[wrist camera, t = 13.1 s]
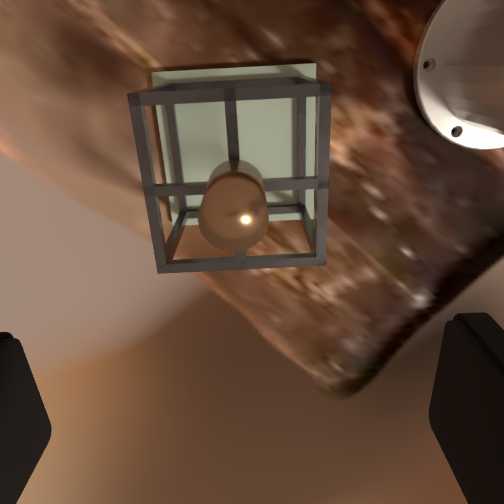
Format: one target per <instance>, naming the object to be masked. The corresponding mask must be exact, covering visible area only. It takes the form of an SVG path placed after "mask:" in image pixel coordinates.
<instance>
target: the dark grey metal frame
mask: <svg viewBox="0 0 504 504" xmlns="http://www.w3.org/2000/svg"><path fill="white" fill-rule="evenodd" d="M331 91H332V83H329V82H326V81H322V80H318V79H315V78H311V77H307V76H296V77H278V78H259V79H241V80H222V81H204V82H185V83H167V84H161V85H157V86H154V87H150V88H147V89H143V90H140V91H136V92H133V93H129V94H127V95H128V101H129V107H130V113H131V119H132V125H133V131H134V136H135V142H136V148H137V154H138V160H139V166H140V172H141V178H142V183H143V189H144V195H145V201H146V207H147V213H148V219H149V225H150V231H151V236H152V242H153V248H154V254H155V260H156V265H157V272H158V273H159V274H161V273H179V272H201V271H222V270H242V269H262V268H283V267H303V266H323V265H326V242H327V212H328V182H329V152H330V121H331ZM306 97H318V110H317V161H316V176H306ZM280 98H297V177H283V178H262V175H261V173H260V172H259V171H258V169H257V168H256V167H255V166H253V165H252V164H250V163H248V162H246V161H243V160H240V153H239V136H238V120H237V104H236V101H243V100H262V99H280ZM206 102H224V104H225V118H226V131H227V145H228V158H229V160H228V161H225V162H223V163H221V164H219V165H218V166H217V167H216V168H215V169H214V170H213V171H212V173H211V175H210V177H209V180H208V181H205V182H185V183H184V175H183V167H182V159H181V151H180V143H179V135H178V127H177V119H176V111H175V104H187V103H206ZM149 105H165V107H166V115H167V122H168V130H169V137H170V145H171V152H172V159H173V167H174V174H175V182H176V183H166V184H156V181H155V174H154V168H153V161H152V155H151V149H150V142H149V136H148V129H147V123H146V116H145V110H144V106H149ZM307 189H316V212H315V228H314V226H313V223H312V221H311V218H310V216H309V213H308V211H307V208H306V206H305V203H306V190H307ZM287 190H297V204H286V205H267V200H266V193H265V192H268V191H287ZM189 195H203V199H202V202H201V205H200V208H199V209H188V207H187V199H186V196H189ZM170 196H177V197H178V204H179V215H178V217H177V219H176V221H175V224H174V226H173V228H172V231H171V233H170V235H169V237H168V240H167V242H166V244H165V239H164V232H163V226H162V219H161V213H160V207H159V200H158V197H170ZM291 213H298V214H299V217H300V220H301V223H302V226H303V229H304V232H305V235H306V238H307V241H308V244H309V247H310V250H311V253H303V254H282V255H262V256H246V249H249V248H251V247H253V246H254V245H256V244H257V243H258V242H259V241H260V240H261V239H262V238H263V236H264V235H265V233H266V231H267V228H268V224H269V215H271V214H291ZM192 218H198V224H199V228H200V230H201V232H202V234H203V236H204V237H205V239H206V240H207V241H208V242H209V243H210V244H212V245H213V246H215V247H217V248H219V249H221V250H225V251H230V252H235V253H236V257H222V258H202V259H182V260H173V257H174V254H175V251H176V249H177V246H178V243H179V241H180V238H181V235H182V233H183V230H184V227H185V225H186V222H187V219H192Z"/></svg>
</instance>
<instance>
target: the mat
mask: <svg viewBox="0 0 504 504" xmlns="http://www.w3.org/2000/svg"><path fill="white" fill-rule="evenodd" d="M151 76H152V83H153V87H154V86H157V85H161V84H167V83H185V82H204V81H222V80H241V79H259V78H278V77H296V76H307V77H311V78H315V79H316V63H310V64H292V65H273V66H255V67H237V68H218V69H200V70H181V71H163V72H151ZM315 99H316V97H306V176H314V157H315ZM236 104H237V120H238V136H239V153H240V160H243V161H246V162H248V163H250V164H252V165H253V166H255V167H256V168H257V169H258V171H259V172H260V173H261V175H262V178H283V177H297V98H280V99H262V100H243V101H236ZM156 111H157V118H158V125H159V132H160V139H161V146H162V153H163V160H164V167H165V174H166V181H167V183H176V182H175V174H174V167H173V159H172V152H171V145H170V137H169V130H168V122H167V115H166V107H165V105H156ZM175 111H176V119H177V127H178V135H179V143H180V151H181V159H182V167H183V175H184V183H185V182H205V181H208V180H209V177H210V175H211V173H212V171H213V170H214V169H215V168H216V167H217V166H218V165H219V164H221V163H223V162H225V161H228V160H229V158H228V145H227V131H226V118H225V104H224V102H206V103H187V104H175ZM265 193H266V200H267V205H286V204H297V190H287V191H268V192H265ZM186 199H187V207H188V209H199V208H200V205H201V202H202V199H203V195H189V196H186ZM169 202H170V209H171V216H172V223H173V226H174V224H175V221H176V219H177V217H178V215H179V204H178V197H177V196H170V197H169ZM305 206H306V208H307V211H308V213H309V216H310V218H311V219H313V214H314V189H307V190H306V203H305ZM298 219H300V217H299V214H298V213H291V214H271V215H269V221H278V220H298ZM186 225H198V218H192V219H187V222H186Z"/></svg>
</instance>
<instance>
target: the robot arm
mask: <svg viewBox="0 0 504 504" xmlns="http://www.w3.org/2000/svg"><path fill="white" fill-rule="evenodd" d="M425 61H426V62H427V64H428V65H427V67H426V68H425V69H424V68H423V64H424V62H425ZM413 87H414V92H415V97H416V102H417V105H418V107H419V109H420V111H421V114H422V116H423V118H424V119H425V120H426V122H427V123H428V124H429V126H430V127H431V128H432V129H433V130H434V131H435V132H436V133H438V134H439V135H440V136H441V137H442V138H444V139H446V140H448V141H450V142H452V143H454V144H457V145H460V146H463V147H465V148H471V149H478V150H489V149H499V148H503V147H504V0H442V1H441V2H440V4H439V5H438V6H437V8H436V9H435V11H434V12H433V13H432V15H431V16H430V18H429V20H428V22H427V24H426V26H425V28H424V30H423V32H422V35H421V38H420V41H419V44H418V47H417V50H416V54H415V61H414V67H413ZM453 128H454V131H453V132H452V133H451V131H452V129H453ZM429 421H430V425H431V428H432V430H433V432H434V434H435V436H436V438H437V440H438V442H439V444H440V446H441V449H442V451H443V452H444V455H445V457H446V459H447V461H448V463H449V464H450V467H451V469H452V471H453V473H454V475H455V477H456V479H457V481H458V484H459V486H460V487H461V490H462V492H463V494H464V496H465V498H466V500H467V502H468V504H504V330H503V329H502V328H501V327H500V326H499V325H498V324H497V323H496V322H495V320H494V319H493V318H492V317H491V316H490V315H488V314H487V313H483V312H482V313H458V314H457V315H455V316H454V318H453V320H452V321H447V323H446V325H445V329H444V334H443V340H442V345H441V350H440V355H439V360H438V366H437V371H436V376H435V381H434V386H433V391H432V397H431V402H430V407H429ZM50 437H51V423H50V420H49V418H48V415H47V412H46V410H45V407H44V404H43V401H42V399H41V396H40V393H39V391H38V388H37V385H36V383H35V380H34V377H33V374H32V372H31V369H30V366H29V364H28V361H27V358H26V355H25V353H24V350H23V347H22V345H21V343H20V341H19V340H18V339H16V338H14V337H13V336H12V335H11V334H10V333H8V332H0V504H16V503H17V501H18V499H19V497H20V495H21V494H22V491H23V490H24V488H25V486H26V484H27V482H28V480H29V478H30V476H31V474H32V473H33V471H34V469H35V467H36V465H37V463H38V461H39V459H40V457H41V456H42V454H43V452H44V450H45V448H46V446H47V444H48V442H49V440H50Z"/></svg>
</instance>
